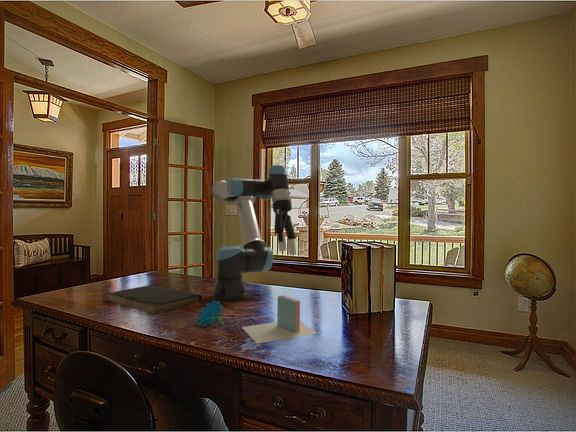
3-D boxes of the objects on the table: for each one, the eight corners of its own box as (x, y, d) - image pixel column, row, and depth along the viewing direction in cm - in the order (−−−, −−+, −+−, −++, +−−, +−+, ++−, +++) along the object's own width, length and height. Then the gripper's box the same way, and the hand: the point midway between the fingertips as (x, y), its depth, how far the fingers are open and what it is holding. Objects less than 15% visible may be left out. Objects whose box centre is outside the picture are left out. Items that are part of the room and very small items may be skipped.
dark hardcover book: (106, 292, 142) (155, 283, 163) (106, 302, 142) (155, 291, 163) (153, 305, 125) (201, 293, 145) (153, 315, 125) (201, 302, 145)
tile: (282, 323, 115) (282, 295, 115) (299, 331, 108) (299, 300, 108) (276, 325, 113) (277, 296, 113) (294, 332, 106) (294, 302, 106)
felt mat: (241, 328, 111) (241, 327, 111) (297, 320, 120) (297, 319, 120) (256, 344, 97) (256, 343, 97) (317, 334, 106) (317, 333, 106)
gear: (190, 318, 115) (209, 295, 120) (200, 326, 119) (218, 304, 123) (207, 331, 108) (227, 306, 112) (217, 339, 111) (236, 315, 116)
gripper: (280, 190, 121) (288, 246, 115) (298, 207, 144) (305, 254, 139) (261, 195, 123) (268, 250, 117) (282, 210, 146) (288, 257, 141)
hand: (288, 252), depth 128 cm, fingers open, 13 cm apart
